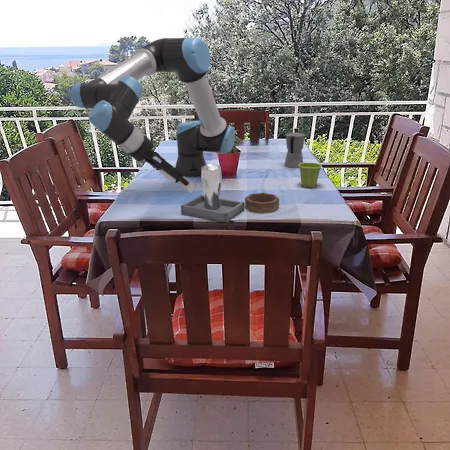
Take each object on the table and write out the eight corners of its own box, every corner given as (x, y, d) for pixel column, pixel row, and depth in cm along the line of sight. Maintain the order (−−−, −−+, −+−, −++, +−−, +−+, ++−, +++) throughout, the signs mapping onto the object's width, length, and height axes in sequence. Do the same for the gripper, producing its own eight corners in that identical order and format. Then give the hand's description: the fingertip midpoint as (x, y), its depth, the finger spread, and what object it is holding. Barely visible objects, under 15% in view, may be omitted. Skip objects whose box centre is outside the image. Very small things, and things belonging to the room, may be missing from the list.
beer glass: (220, 212, 147) (219, 170, 142) (200, 211, 149) (198, 169, 143) (223, 206, 154) (223, 164, 148) (204, 205, 155) (203, 164, 149)
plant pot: (307, 181, 185) (308, 161, 182) (325, 185, 178) (326, 165, 175) (292, 185, 179) (293, 165, 176) (310, 190, 173) (312, 169, 170)
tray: (181, 213, 150) (180, 205, 149) (201, 202, 160) (201, 195, 159) (226, 222, 142) (226, 214, 141) (244, 210, 152) (244, 202, 151)
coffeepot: (287, 162, 216) (288, 125, 210) (305, 163, 213) (308, 126, 207) (280, 169, 203) (281, 131, 196) (300, 171, 200) (302, 132, 193)
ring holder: (240, 209, 153) (240, 200, 152) (254, 200, 162) (254, 191, 161) (269, 214, 148) (270, 205, 147) (282, 204, 157) (282, 195, 156)
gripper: (115, 146, 139) (161, 184, 151) (143, 162, 119) (194, 204, 132) (129, 128, 139) (174, 167, 152) (160, 140, 119) (209, 184, 132)
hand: (183, 184), depth 142 cm, fingers open, 13 cm apart
